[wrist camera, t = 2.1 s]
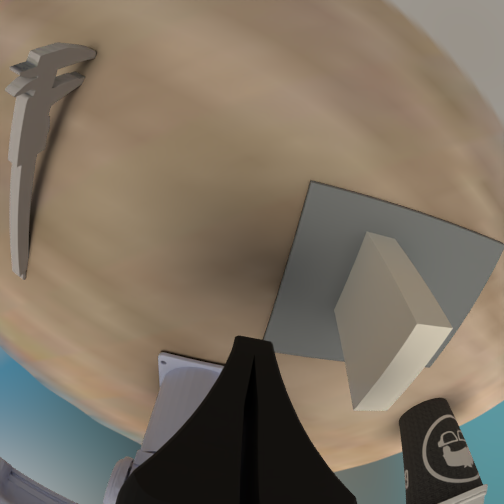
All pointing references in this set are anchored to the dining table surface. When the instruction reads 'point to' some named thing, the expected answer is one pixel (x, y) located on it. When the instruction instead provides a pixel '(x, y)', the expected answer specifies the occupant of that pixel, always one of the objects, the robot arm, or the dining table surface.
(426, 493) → the coffee cup
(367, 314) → the tile
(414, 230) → the mat
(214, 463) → the robot arm
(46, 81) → the caliper
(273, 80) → the dining table surface
